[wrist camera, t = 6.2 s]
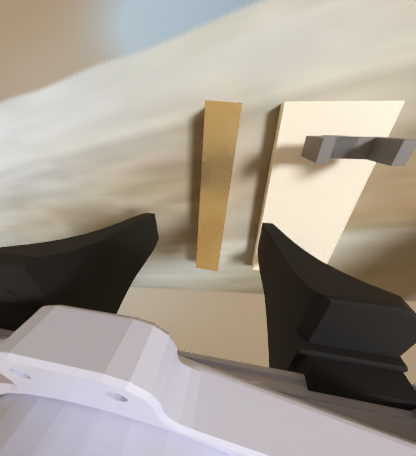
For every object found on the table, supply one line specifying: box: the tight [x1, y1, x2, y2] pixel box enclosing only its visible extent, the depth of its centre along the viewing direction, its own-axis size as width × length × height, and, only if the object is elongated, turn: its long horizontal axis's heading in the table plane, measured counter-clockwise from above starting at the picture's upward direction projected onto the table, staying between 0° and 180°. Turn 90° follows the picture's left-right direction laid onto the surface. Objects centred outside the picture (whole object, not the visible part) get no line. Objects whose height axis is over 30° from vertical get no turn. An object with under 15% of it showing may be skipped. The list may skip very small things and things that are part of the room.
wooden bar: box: [196, 100, 242, 271], centre depth 16 cm, size 2×15×2 cm, turn 176°
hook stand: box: [252, 101, 416, 270], centre depth 13 cm, size 7×15×5 cm, turn 0°
